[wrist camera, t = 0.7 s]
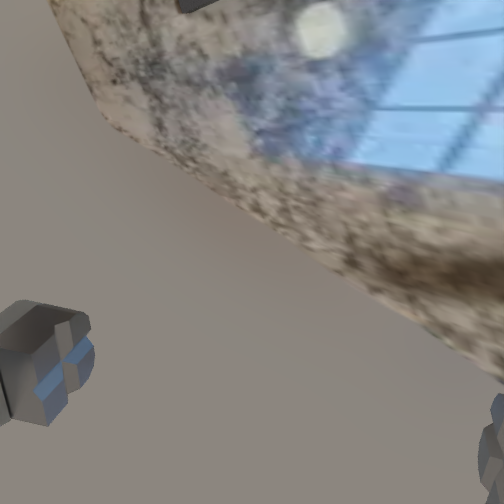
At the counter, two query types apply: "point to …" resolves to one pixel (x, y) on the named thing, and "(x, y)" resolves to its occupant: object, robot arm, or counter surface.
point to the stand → (194, 5)
